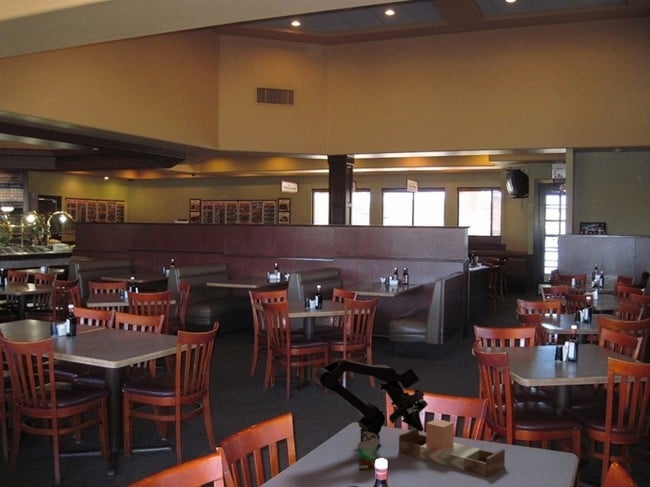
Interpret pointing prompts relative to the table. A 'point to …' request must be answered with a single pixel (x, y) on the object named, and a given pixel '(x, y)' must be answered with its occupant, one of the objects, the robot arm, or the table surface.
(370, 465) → the food container
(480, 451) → the track
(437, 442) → the terracotta block
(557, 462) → the table surface
